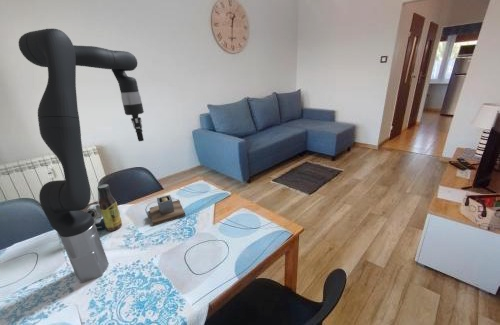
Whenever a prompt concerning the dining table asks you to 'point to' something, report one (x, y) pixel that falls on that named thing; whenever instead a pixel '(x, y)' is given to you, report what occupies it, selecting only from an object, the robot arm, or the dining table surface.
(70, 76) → the robot arm
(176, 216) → the post board
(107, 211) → the sauce bottle
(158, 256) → the dining table surface
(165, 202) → the grey hollow cube
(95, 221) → the watch
